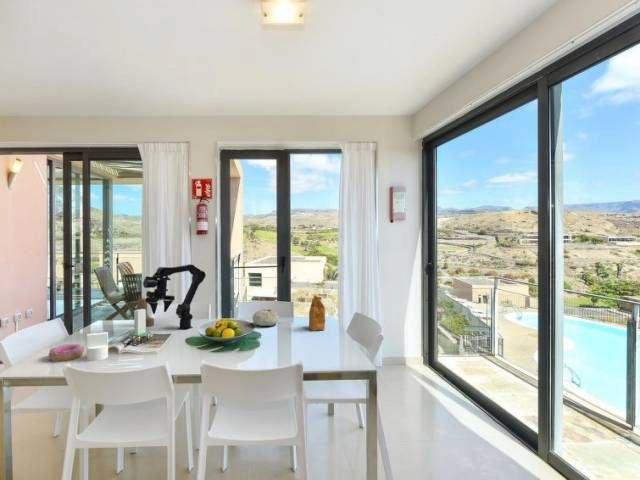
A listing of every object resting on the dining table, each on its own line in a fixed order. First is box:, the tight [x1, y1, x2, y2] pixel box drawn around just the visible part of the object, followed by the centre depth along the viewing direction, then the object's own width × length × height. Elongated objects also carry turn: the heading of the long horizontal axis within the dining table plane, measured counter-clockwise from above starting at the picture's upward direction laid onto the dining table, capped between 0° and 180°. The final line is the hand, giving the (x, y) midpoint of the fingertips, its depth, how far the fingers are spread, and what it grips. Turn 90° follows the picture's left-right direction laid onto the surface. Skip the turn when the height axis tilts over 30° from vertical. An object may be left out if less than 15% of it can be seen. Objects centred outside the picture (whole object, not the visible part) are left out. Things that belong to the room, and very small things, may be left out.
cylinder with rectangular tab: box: [86, 331, 109, 362], centre depth 178 cm, size 9×9×12 cm
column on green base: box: [128, 309, 152, 337], centre depth 204 cm, size 8×8×14 cm
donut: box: [48, 343, 85, 362], centre depth 178 cm, size 14×14×5 cm
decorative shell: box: [252, 308, 280, 327], centre depth 243 cm, size 18×18×10 cm
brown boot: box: [137, 297, 155, 327], centre depth 239 cm, size 9×4×18 cm, turn 92°
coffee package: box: [308, 294, 326, 332], centre depth 234 cm, size 10×12×22 cm
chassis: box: [129, 334, 157, 345], centre depth 204 cm, size 12×12×4 cm
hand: (159, 312), depth 220 cm, fingers open, 9 cm apart
